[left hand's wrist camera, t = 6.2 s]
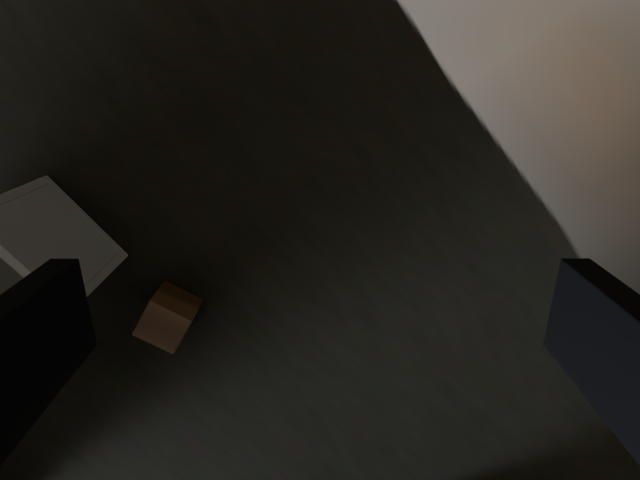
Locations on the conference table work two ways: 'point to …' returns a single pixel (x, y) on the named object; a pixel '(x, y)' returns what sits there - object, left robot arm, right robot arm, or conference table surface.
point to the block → (167, 317)
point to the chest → (51, 235)
